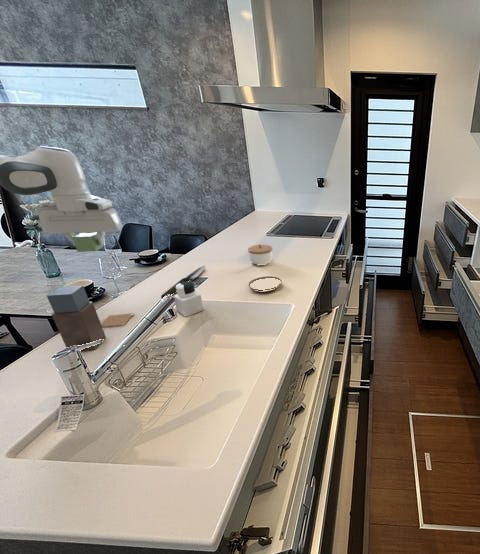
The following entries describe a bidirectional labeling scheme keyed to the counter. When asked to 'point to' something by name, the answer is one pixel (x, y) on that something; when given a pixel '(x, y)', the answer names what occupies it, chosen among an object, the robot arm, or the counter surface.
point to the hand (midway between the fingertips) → (89, 245)
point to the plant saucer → (264, 278)
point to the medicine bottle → (188, 299)
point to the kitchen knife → (184, 280)
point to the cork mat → (116, 320)
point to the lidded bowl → (260, 254)
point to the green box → (86, 242)
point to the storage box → (80, 327)
